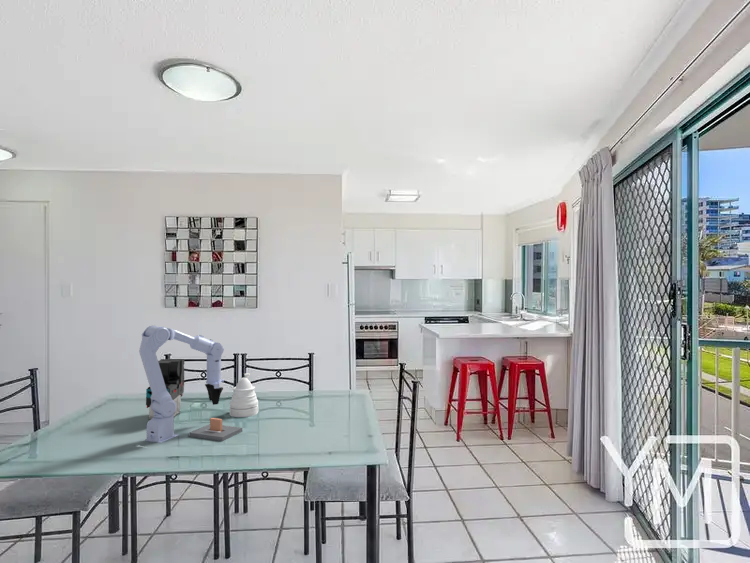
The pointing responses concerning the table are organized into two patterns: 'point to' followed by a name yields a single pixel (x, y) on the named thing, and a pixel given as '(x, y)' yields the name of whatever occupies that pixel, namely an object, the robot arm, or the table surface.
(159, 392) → the robot arm
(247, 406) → the honey pot
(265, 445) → the table surface
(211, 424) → the upright peach slab
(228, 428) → the gray slotted plate
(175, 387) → the bill acceptor
